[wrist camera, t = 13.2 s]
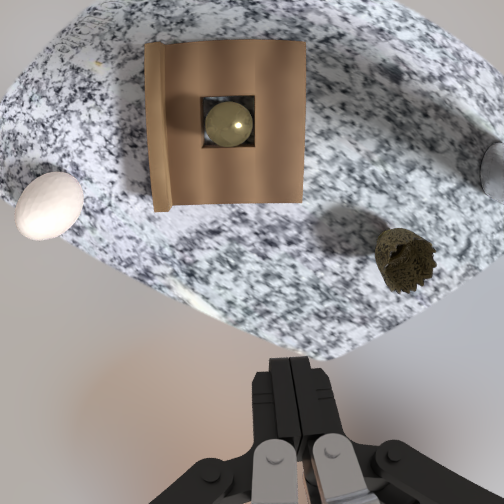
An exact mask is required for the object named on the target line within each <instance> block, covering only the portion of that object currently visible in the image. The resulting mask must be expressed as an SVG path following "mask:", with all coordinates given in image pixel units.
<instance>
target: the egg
mask: <svg viewBox="0 0 504 504" xmlns="http://www.w3.org/2000/svg"><path fill="white" fill-rule="evenodd" d="M83 198H84V195H83V190H82V188H81V185H80V184H79V182H78V181H77V179H76V178H74V177H73V176H71V175H70V174H68V173H64V172H56V171H55V172H50V173H46V174H44V175H42V176H40V177H38V178H36V179H35V180H34V181H32V182H31V183H30V184H29V185H28V186H27V187H26V188H25V190H24V191H23V193H22V194H21V196H20V198H19V200H18V202H17V205H16V208H15V223H16V226H17V228H18V230H19V231H20V233H21V234H23V235H24V236H26V237H27V238H29V239H32V240H46V239H51V238H55V237H57V236H59V235H60V234H62V233H64V232H65V231H66V230H68V229H69V228H70V227H71V226H72V225H73V224H74V223H75V221H76V220H77V219H78V217H79V215H80V213H81V210H82V207H83Z"/></svg>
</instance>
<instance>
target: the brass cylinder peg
mask: <svg viewBox="0 0 504 504" xmlns="http://www.w3.org/2000/svg"><path fill="white" fill-rule="evenodd" d="M252 125H253V123H252V117H251V115H250V113H249V111H248V110H247V109H246V108H245V107H244V106H242V105H241V104H239V103H236V102H223V103H220V104H218V105H216V106H214V107H213V108H212V109H211V110H210V111H209V113H208V115H207V117H206V121H205V129H206V132H207V135H208V136H209V138H210V139H211V140H212V141H213V142H214V143H216V144H218V145H220V146H224V147H233V146H237V145H239V144H241V143H243V142H244V141H245V140H246V139H247V138H248V137H249V135H250V133H251V131H252Z"/></svg>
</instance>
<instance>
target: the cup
mask: <svg viewBox="0 0 504 504" xmlns="http://www.w3.org/2000/svg"><path fill="white" fill-rule="evenodd" d="M433 253H436V250H435V249H434V248H433V247H432V244H431V243H430V242H428V241H426V240H425V239H423V238H422V237H420V236H419V235H417V234H415V233H413V232H412V231H409V230H407V229H403V228H394V229H388V230H385V231H383V232H381V233H380V235H379V236H378V238H377V242H376V248H375V259H376V263H377V266H378V268H379V270H380V272H381V275H382V277H383V279H384V281H385V283H386V285H387V286H388V288H389V289H390V291H391V292H394V291H395V290H396V292H397V293H398V294H401V290H402V291H403V292H406V293H408V294H409V293H410V290H411V291H414V292H415V291H416V289H417V284H419V285H420V286H422V287H423V285H424V281H423V280H425V279H430V278H432V275H433V268H435V267H436V266H437V264H436V262H435V261H434V259H433V256H434V255H433Z"/></svg>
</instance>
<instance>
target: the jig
mask: <svg viewBox="0 0 504 504" xmlns="http://www.w3.org/2000/svg"><path fill="white" fill-rule="evenodd" d="M144 69H145V107H146V127H147V143H148V156H149V168H150V178H151V188H152V197H153V206H154V212H169V210H170V209H171V207H172V206H175V205H201V204H239V203H302V195H303V175H304V150H305V114H306V42H302V41H287V40H261V39H239V40H212V41H198V42H187V43H177V44H169V45H164V44H163V43H161V42H153V43H147V44H145V50H144ZM226 96H254V144H239V145H237V146H233V147H224V146H220V145H205V141H204V106H203V98H204V97H226Z"/></svg>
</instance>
